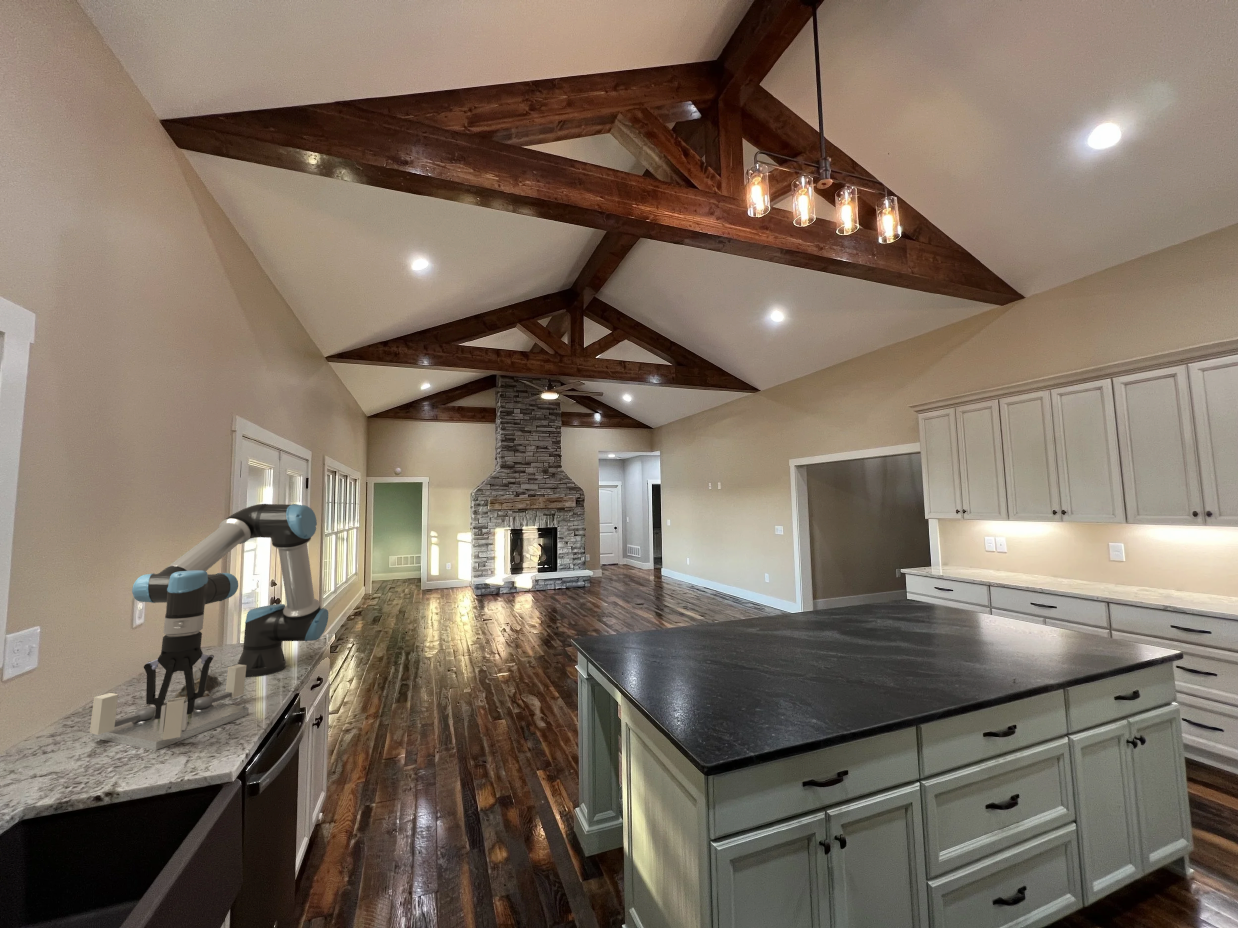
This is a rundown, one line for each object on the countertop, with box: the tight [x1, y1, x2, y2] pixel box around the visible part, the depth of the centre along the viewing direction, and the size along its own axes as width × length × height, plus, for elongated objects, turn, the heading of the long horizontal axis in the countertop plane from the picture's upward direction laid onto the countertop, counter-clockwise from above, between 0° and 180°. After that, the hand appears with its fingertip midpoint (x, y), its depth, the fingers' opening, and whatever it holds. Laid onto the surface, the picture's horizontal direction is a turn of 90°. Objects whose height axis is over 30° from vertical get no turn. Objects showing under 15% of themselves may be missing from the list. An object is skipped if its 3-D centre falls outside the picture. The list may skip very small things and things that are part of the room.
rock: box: [172, 667, 222, 700], centre depth 159 cm, size 18×11×10 cm, turn 15°
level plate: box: [91, 701, 249, 751], centre depth 135 cm, size 23×23×6 cm
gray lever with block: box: [194, 663, 246, 709], centre depth 147 cm, size 13×4×9 cm, turn 165°
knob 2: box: [163, 697, 185, 740], centre depth 127 cm, size 13×4×9 cm, turn 36°
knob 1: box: [89, 692, 156, 735], centre depth 130 cm, size 13×4×9 cm, turn 163°
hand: (173, 729), depth 123 cm, fingers closed on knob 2, 3 cm apart
